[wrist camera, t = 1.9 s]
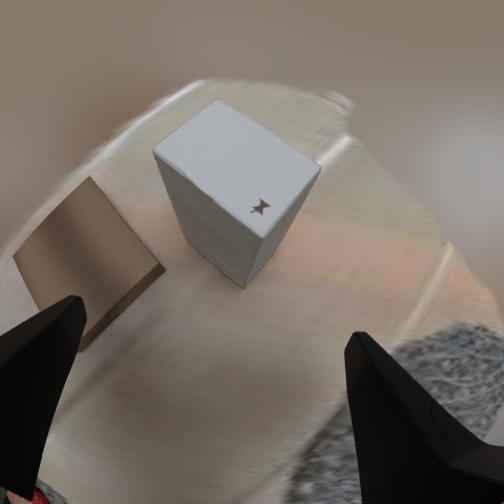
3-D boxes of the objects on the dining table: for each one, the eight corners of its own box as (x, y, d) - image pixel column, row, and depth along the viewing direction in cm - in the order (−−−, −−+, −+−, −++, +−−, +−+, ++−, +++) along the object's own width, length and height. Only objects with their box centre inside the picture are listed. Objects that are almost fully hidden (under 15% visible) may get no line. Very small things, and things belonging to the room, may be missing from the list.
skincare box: (277, 249, 22) (328, 168, 11) (243, 290, 21) (263, 244, 10) (219, 202, 23) (217, 94, 12) (183, 239, 22) (146, 150, 10)
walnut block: (84, 351, 19) (66, 353, 16) (30, 264, 20) (12, 256, 18) (167, 271, 22) (158, 262, 19) (102, 191, 23) (89, 175, 20)
